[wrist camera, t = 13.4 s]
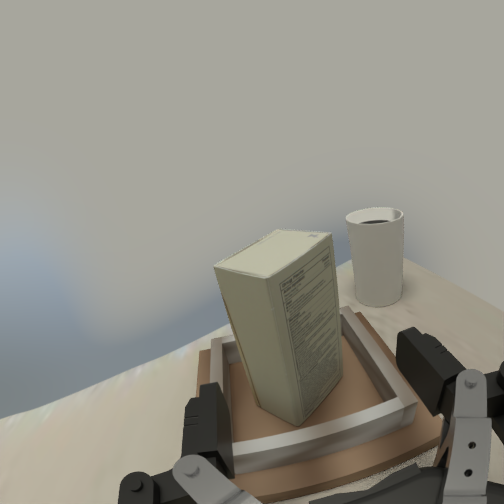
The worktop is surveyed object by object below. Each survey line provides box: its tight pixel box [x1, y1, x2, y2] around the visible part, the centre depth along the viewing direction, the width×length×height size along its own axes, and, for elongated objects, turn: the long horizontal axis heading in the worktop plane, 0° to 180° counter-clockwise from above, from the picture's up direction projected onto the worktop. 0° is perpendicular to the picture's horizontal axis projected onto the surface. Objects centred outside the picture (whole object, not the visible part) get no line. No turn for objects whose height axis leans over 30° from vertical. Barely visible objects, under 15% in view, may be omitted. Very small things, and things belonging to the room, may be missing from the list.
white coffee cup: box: [346, 207, 404, 307], centre depth 33 cm, size 7×7×10 cm
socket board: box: [196, 306, 442, 504], centre depth 21 cm, size 17×17×4 cm
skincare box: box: [214, 229, 343, 426], centre depth 19 cm, size 6×4×12 cm
